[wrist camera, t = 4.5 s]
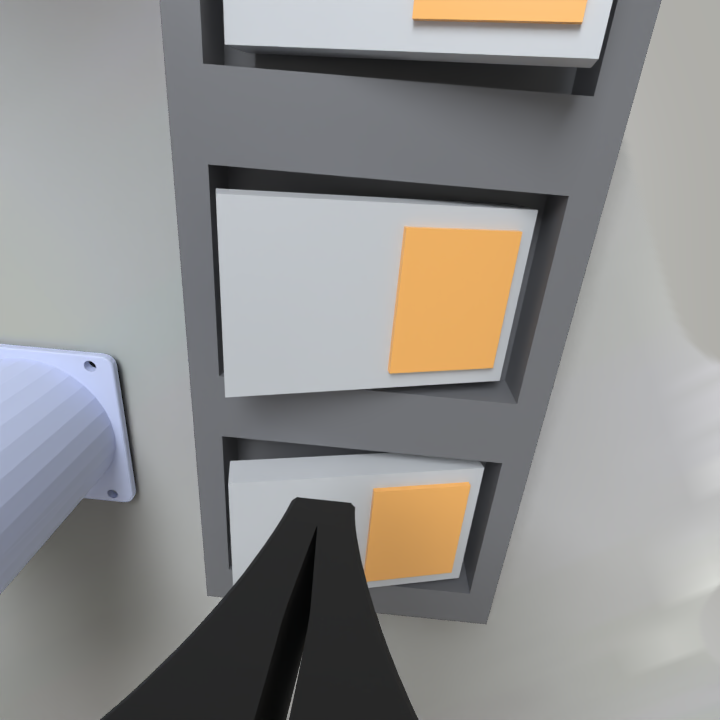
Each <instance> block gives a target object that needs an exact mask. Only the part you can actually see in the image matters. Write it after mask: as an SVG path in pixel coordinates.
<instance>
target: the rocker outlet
mask: <svg viewBox="0 0 720 720" xmlns="http://www.w3.org/2000/svg"><path fill="white" fill-rule="evenodd" d="M612 2H613V0H223V8H224V37H225V45H228V46H230V47H233V48H235V49H238V50H241V51H243V52H246V53H253V54H277V55H300V56H323V57H347V58H370V59H394V60H417V61H440V62H464V63H487V64H510V65H534V66H557V67H581V68H591V67H592V66H593V65H594V64H595V62H596V61H597V60H598V59H599V55H600V51H601V47H602V43H603V39H604V35H605V31H606V27H607V23H608V18H609V14H610V10H611V6H612Z"/></svg>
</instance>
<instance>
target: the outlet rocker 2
mask: <svg viewBox="0 0 720 720" xmlns="http://www.w3.org/2000/svg"><path fill="white" fill-rule="evenodd" d="M483 471H484V467H483V465H482V464H481V462H480V461H474V460H464V459H453V458H443V457H433V456H422V455H412V454H401V453H375V454H356V455H336V456H317V457H298V458H278V459H259V460H240V461H230V469H229V480H228V489H229V511H230V532H231V553H232V574H233V585H234V584H235V583H236V582H237V580H238V579H239V578H240V577H241V576H242V574H243V573H244V572H245V570H246V569H247V568H248V566H249V565H250V564H251V562H252V561H253V560H254V558H255V557H256V555H257V554H258V553H259V551H260V550H261V549H262V547H263V546H264V545H265V543H266V542H267V540H268V539H269V537H270V536H271V534H272V533H273V531H274V530H275V528H276V527H277V525H278V524H279V522H280V520H281V519H282V517H283V515H284V514H285V512H286V510H287V508H288V507H289V505H290V503H291V501H292V500H293V499H295V498H296V497H301V498H311V499H320V500H330V501H339V502H348V503H352V505H353V506H354V507H355V525H356V533H357V540H358V546H359V551H360V556H361V561H362V565H363V569H364V573H365V577H366V581H367V585H368V588H372V587H381V586H390V585H399V584H408V583H417V582H426V581H435V580H444V579H453V578H459V575H460V571H461V567H462V562H463V558H464V554H465V549H466V545H467V541H468V536H469V532H470V528H471V523H472V519H473V515H474V510H475V506H476V502H477V497H478V493H479V489H480V484H481V480H482V476H483Z"/></svg>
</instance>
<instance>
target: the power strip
mask: <svg viewBox="0 0 720 720" xmlns="http://www.w3.org/2000/svg"><path fill="white" fill-rule="evenodd" d="M660 4H661V0H613V2H612V6H611V10H610V14H609V18H608V23H607V27H606V31H605V35H604V39H603V43H602V47H601V51H600V55H599V59H598V60H597V61H596V62H595V64H594V65H593V66H592V67H591V68H581V67H557V66H534V65H510V64H487V63H464V62H440V61H417V60H394V59H370V58H347V57H323V56H300V55H277V54H253V53H246V52H243V51H241V50H238V49H235V48H233V47H230V46H228V45H225V37H224V8H223V0H160V12H161V24H162V36H163V49H164V61H165V74H166V86H167V99H168V111H169V124H170V136H171V149H172V161H173V174H174V186H175V199H176V211H177V224H178V236H179V249H180V261H181V273H182V286H183V298H184V311H185V323H186V336H187V348H188V361H189V373H190V386H191V398H192V411H193V423H194V436H195V448H196V461H197V473H198V486H199V498H200V510H201V523H202V535H203V548H204V560H205V573H206V585H207V596H214V597H224V596H225V595H226V594H227V593H228V591H229V590H230V589H231V588H232V587H233V574H232V553H231V532H230V511H229V489H228V480H229V469H230V461H240V460H259V459H278V458H298V457H317V456H336V455H356V454H375V453H401V454H412V455H422V456H433V457H443V458H453V459H464V460H474V461H480V462H481V464H482V465H483V467H484V471H483V476H482V480H481V484H480V489H479V493H478V497H477V502H476V506H475V510H474V515H473V519H472V523H471V528H470V532H469V536H468V541H467V545H466V549H465V554H464V558H463V562H462V567H461V571H460V575H459V578H453V579H444V580H435V581H426V582H417V583H408V584H399V585H390V586H381V587H372V588H369V592H370V595H371V599H372V602H373V606H374V609H375V612H376V613H381V614H391V615H401V616H411V617H421V618H430V619H440V620H450V621H460V622H470V623H480V624H486V623H487V620H488V616H489V612H490V609H491V605H492V602H493V598H494V595H495V591H496V588H497V584H498V580H499V577H500V573H501V570H502V566H503V563H504V559H505V556H506V552H507V548H508V545H509V541H510V538H511V534H512V531H513V527H514V524H515V520H516V516H517V513H518V509H519V506H520V502H521V499H522V495H523V491H524V488H525V484H526V481H527V477H528V474H529V470H530V467H531V463H532V459H533V456H534V452H535V449H536V445H537V442H538V438H539V435H540V431H541V427H542V424H543V420H544V417H545V413H546V410H547V406H548V402H549V399H550V395H551V392H552V388H553V385H554V381H555V378H556V374H557V370H558V367H559V363H560V360H561V356H562V353H563V349H564V346H565V342H566V338H567V335H568V331H569V328H570V324H571V321H572V317H573V313H574V310H575V306H576V303H577V299H578V296H579V292H580V289H581V285H582V281H583V278H584V274H585V271H586V267H587V264H588V260H589V257H590V253H591V249H592V246H593V242H594V239H595V235H596V232H597V228H598V225H599V221H600V217H601V214H602V210H603V207H604V203H605V200H606V196H607V192H608V189H609V185H610V182H611V178H612V175H613V171H614V168H615V164H616V160H617V157H618V153H619V150H620V146H621V143H622V139H623V136H624V132H625V128H626V125H627V121H628V118H629V114H630V111H631V107H632V103H633V100H634V96H635V93H636V89H637V85H638V82H639V78H640V75H641V71H642V68H643V64H644V60H645V57H646V54H647V50H648V46H649V43H650V39H651V36H652V32H653V29H654V25H655V21H656V18H657V14H658V11H659V7H660ZM216 188H219V189H237V190H256V191H274V192H293V193H311V194H330V195H348V196H367V197H385V198H404V199H423V200H441V201H460V202H478V203H497V204H515V205H520V206H523V207H527V208H531V209H535V210H538V213H537V218H536V222H535V227H534V231H533V235H532V240H531V244H530V249H529V253H528V257H527V262H526V266H525V271H524V275H523V280H522V284H521V288H520V293H519V297H518V302H517V306H516V310H515V315H514V319H513V324H512V328H511V333H510V337H509V341H508V346H507V350H506V355H505V359H504V363H503V368H502V372H501V377H500V381H486V382H470V383H454V384H437V385H421V386H405V387H388V388H372V389H356V390H339V391H323V392H307V393H290V394H274V395H258V396H241V397H225V381H224V360H223V338H222V316H221V295H220V273H219V251H218V230H217V208H216Z"/></svg>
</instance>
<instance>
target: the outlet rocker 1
mask: <svg viewBox="0 0 720 720" xmlns="http://www.w3.org/2000/svg"><path fill="white" fill-rule="evenodd" d="M216 208H217V230H218V251H219V273H220V295H221V316H222V338H223V360H224V381H225V397H241V396H258V395H274V394H290V393H307V392H323V391H339V390H356V389H372V388H388V387H405V386H421V385H437V384H454V383H470V382H486V381H500V377H501V372H502V368H503V363H504V359H505V355H506V350H507V346H508V341H509V337H510V333H511V328H512V324H513V319H514V315H515V310H516V306H517V302H518V297H519V293H520V288H521V284H522V280H523V275H524V271H525V266H526V262H527V257H528V253H529V249H530V244H531V240H532V235H533V231H534V227H535V222H536V218H537V213H538V210H535V209H531V208H527V207H523V206H520V205H515V204H497V203H478V202H460V201H441V200H423V199H404V198H385V197H367V196H348V195H330V194H311V193H293V192H274V191H256V190H237V189H219V188H216Z"/></svg>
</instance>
